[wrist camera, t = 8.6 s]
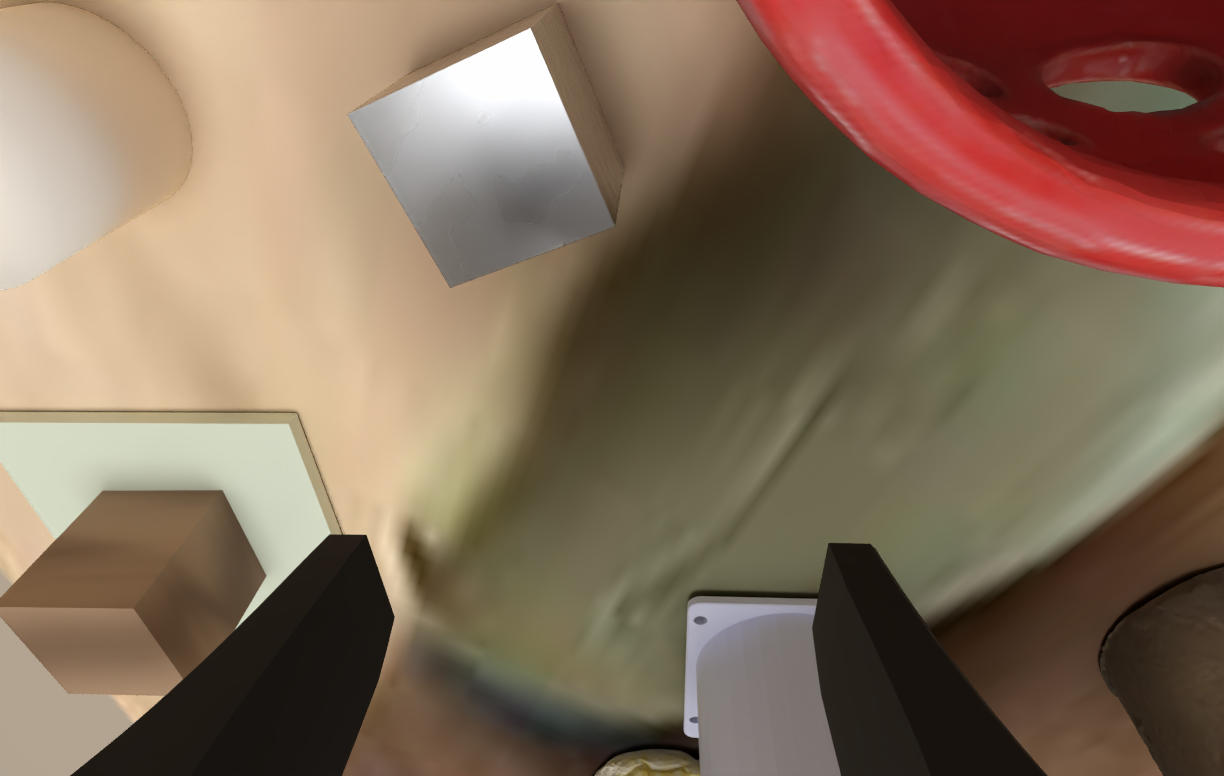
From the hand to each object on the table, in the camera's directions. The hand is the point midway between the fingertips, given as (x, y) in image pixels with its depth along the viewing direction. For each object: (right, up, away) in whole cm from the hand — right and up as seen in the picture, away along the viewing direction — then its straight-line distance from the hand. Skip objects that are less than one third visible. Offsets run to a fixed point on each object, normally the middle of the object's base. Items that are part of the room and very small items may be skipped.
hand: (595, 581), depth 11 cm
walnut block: (-15, -2, +15) cm, 22 cm away
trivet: (-15, -2, +15) cm, 22 cm away
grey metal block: (-2, +10, +6) cm, 12 cm away
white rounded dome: (-13, +10, +7) cm, 18 cm away
